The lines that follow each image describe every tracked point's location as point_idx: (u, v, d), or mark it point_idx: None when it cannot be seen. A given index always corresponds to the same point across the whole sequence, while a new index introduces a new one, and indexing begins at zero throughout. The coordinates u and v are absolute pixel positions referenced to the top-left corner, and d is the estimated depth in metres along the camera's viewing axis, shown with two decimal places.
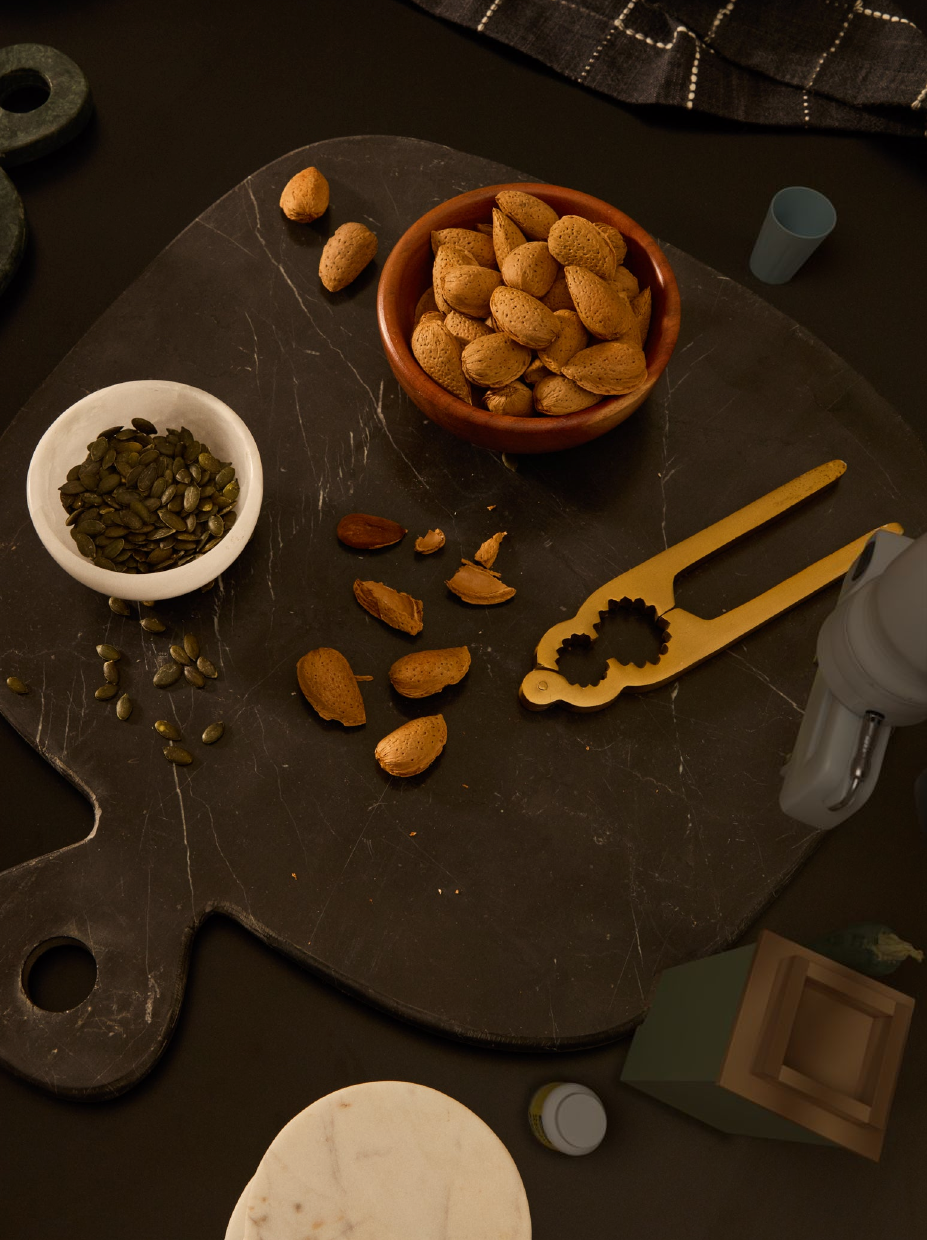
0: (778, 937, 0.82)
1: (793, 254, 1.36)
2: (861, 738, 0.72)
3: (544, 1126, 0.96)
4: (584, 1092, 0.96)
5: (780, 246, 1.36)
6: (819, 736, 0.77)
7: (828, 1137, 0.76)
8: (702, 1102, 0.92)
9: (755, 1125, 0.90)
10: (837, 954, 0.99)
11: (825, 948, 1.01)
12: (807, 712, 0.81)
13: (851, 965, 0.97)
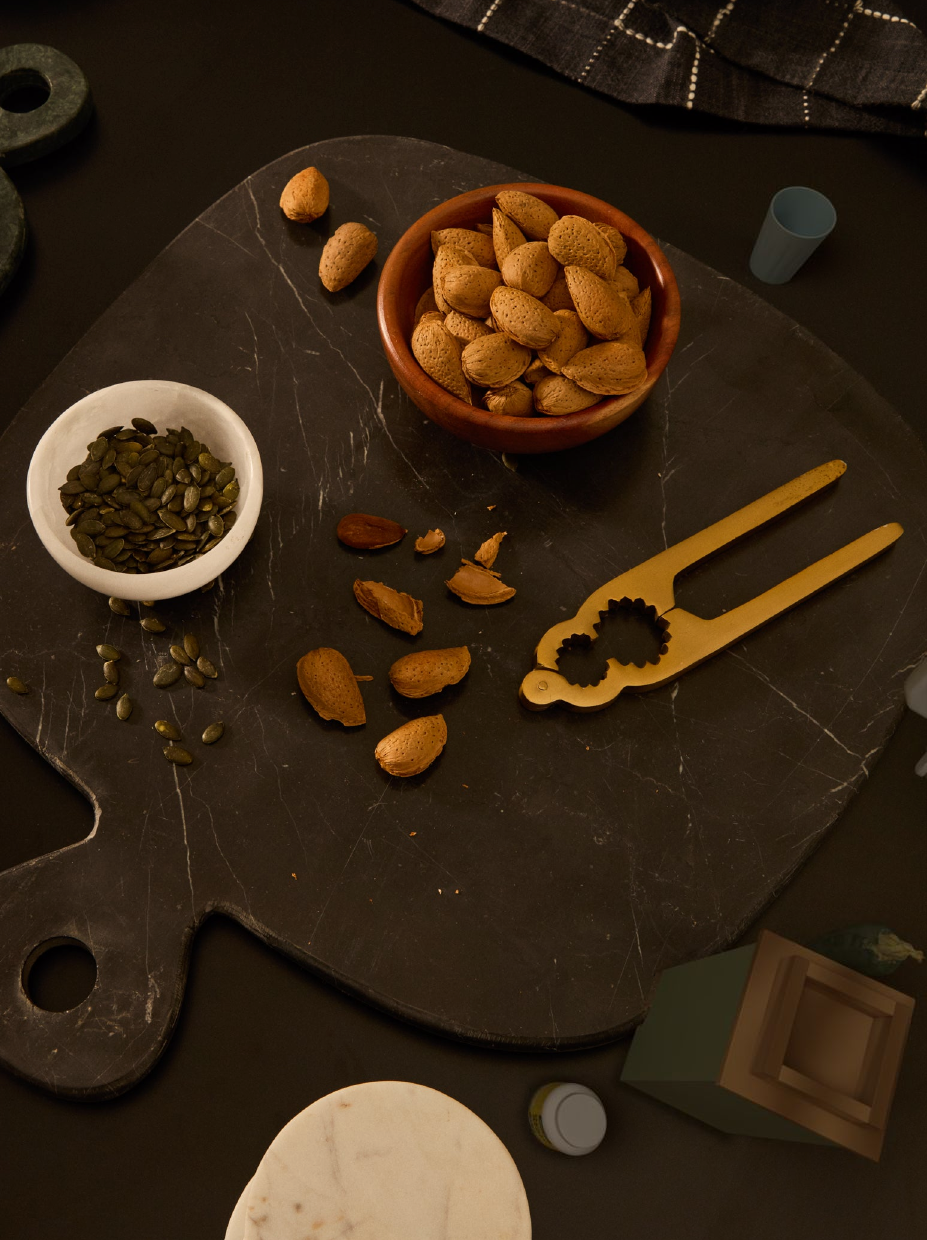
0: (778, 937, 0.82)
1: (793, 254, 1.36)
2: None
3: (544, 1126, 0.96)
4: (584, 1092, 0.96)
5: (780, 246, 1.36)
6: None
7: (828, 1137, 0.76)
8: (702, 1102, 0.92)
9: (755, 1125, 0.90)
10: (837, 955, 0.99)
11: (825, 948, 1.01)
12: None
13: (851, 965, 0.97)
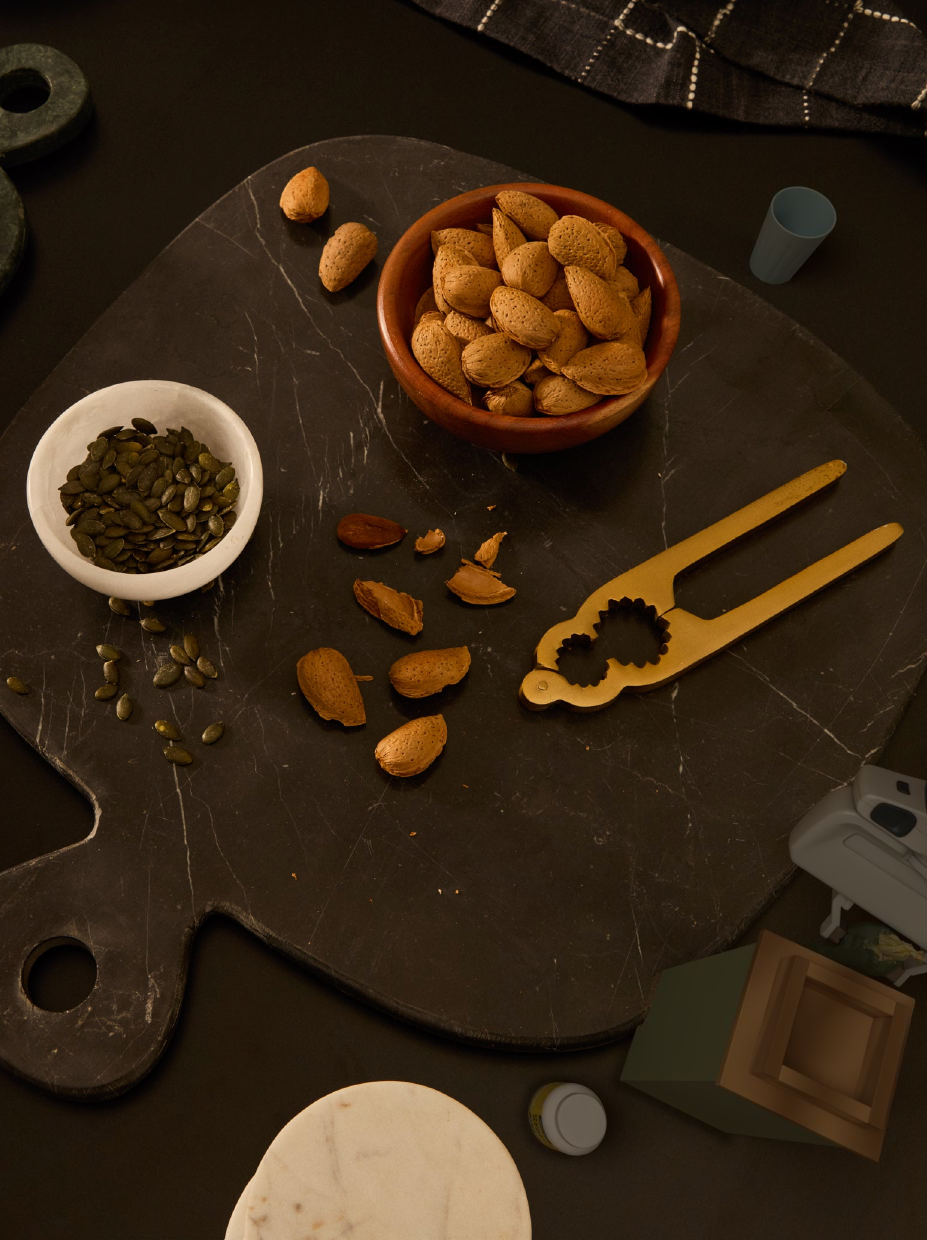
0: (778, 937, 0.82)
1: (793, 254, 1.36)
2: None
3: (544, 1126, 0.96)
4: (584, 1092, 0.96)
5: (780, 246, 1.36)
6: None
7: (828, 1137, 0.76)
8: (702, 1102, 0.92)
9: (755, 1125, 0.90)
10: (837, 955, 0.99)
11: (825, 949, 1.01)
12: None
13: (851, 965, 0.97)
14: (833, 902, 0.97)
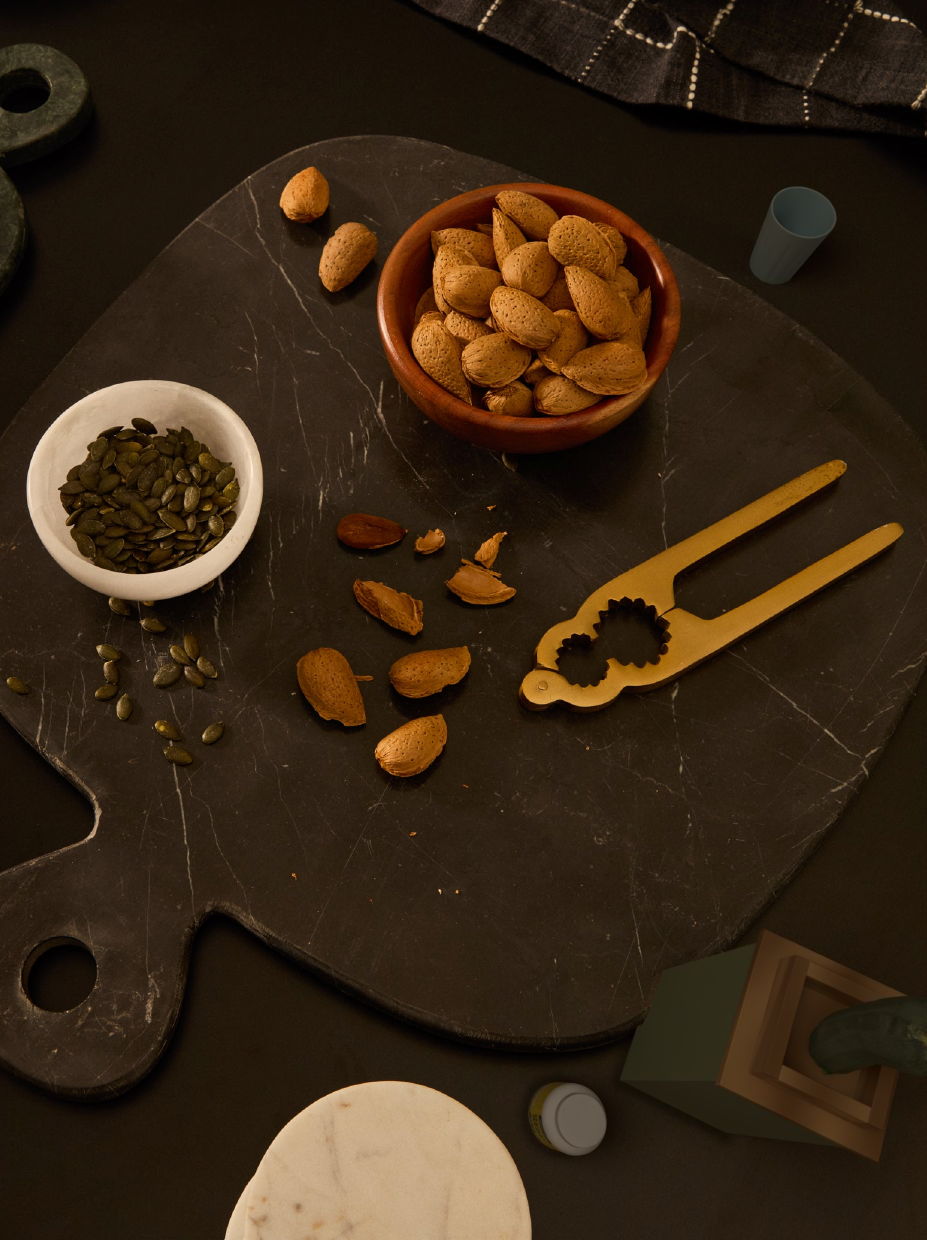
0: (778, 937, 0.82)
1: (793, 254, 1.36)
2: None
3: (544, 1126, 0.96)
4: (584, 1092, 0.96)
5: (780, 246, 1.36)
6: None
7: (828, 1137, 0.76)
8: (702, 1102, 0.92)
9: (755, 1125, 0.90)
10: (868, 1042, 0.69)
11: (850, 1031, 0.71)
12: None
13: (890, 1060, 0.67)
14: None
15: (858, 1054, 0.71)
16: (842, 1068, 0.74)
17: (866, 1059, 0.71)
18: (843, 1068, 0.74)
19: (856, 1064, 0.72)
